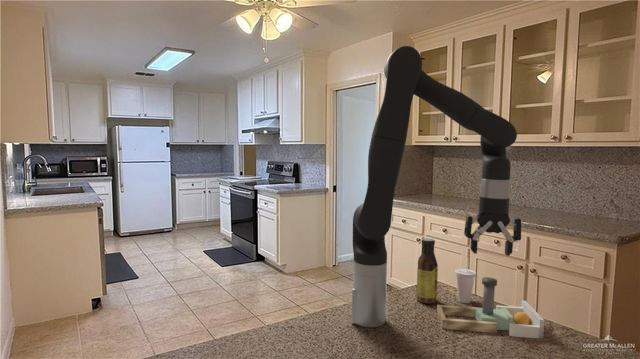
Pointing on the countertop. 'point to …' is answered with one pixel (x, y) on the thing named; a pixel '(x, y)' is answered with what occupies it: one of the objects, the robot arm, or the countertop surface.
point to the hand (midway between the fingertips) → (490, 254)
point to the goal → (528, 331)
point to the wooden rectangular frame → (463, 324)
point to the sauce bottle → (427, 273)
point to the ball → (521, 318)
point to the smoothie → (465, 283)
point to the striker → (492, 307)
